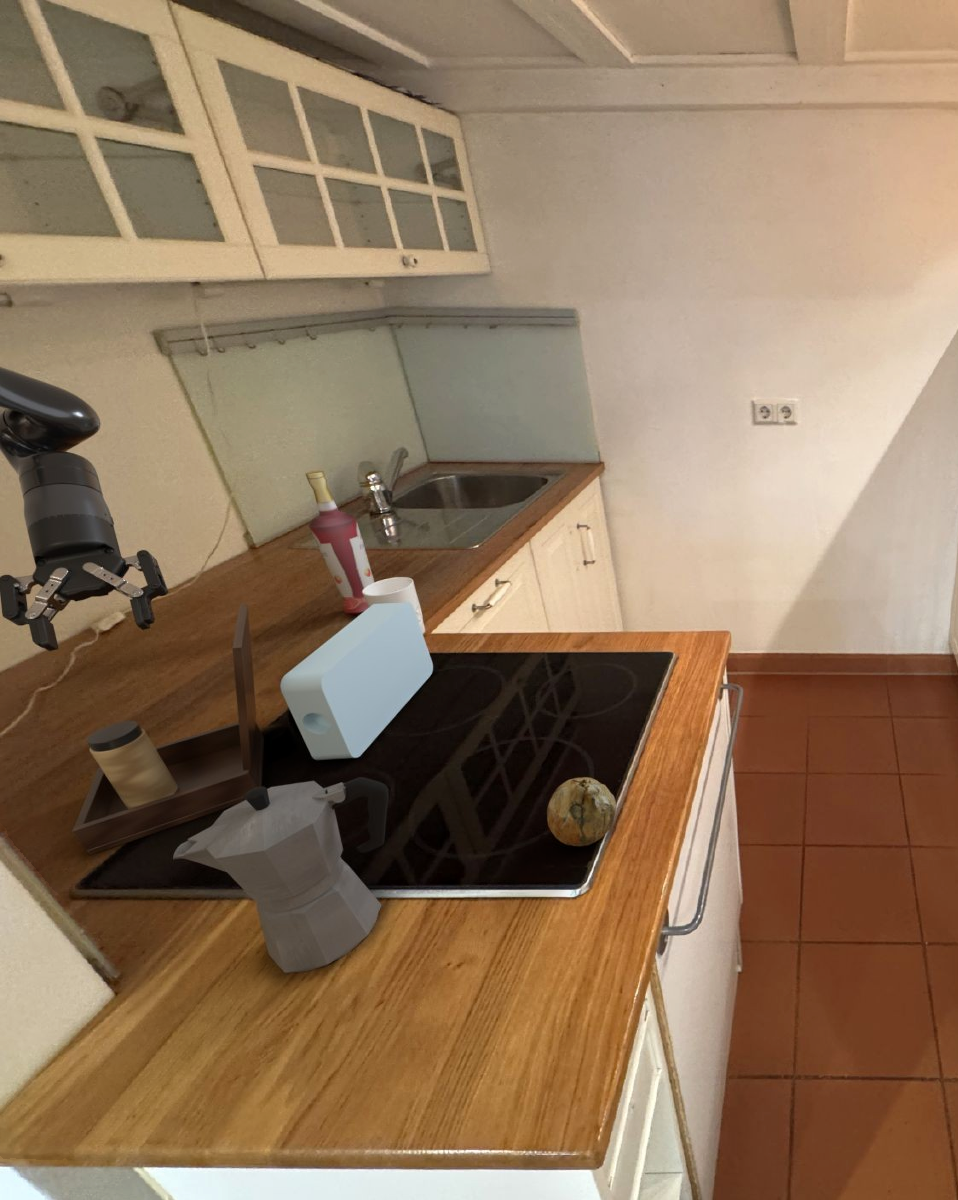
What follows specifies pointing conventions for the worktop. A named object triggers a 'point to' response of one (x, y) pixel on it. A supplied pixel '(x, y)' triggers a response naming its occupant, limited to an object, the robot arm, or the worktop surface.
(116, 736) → the beige jar
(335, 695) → the pale blue rectangular block
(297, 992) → the worktop surface
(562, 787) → the onion
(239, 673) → the chest lid
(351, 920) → the coffeepot
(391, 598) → the white cup
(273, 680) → the worktop surface
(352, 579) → the liquor
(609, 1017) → the worktop surface
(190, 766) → the chest
